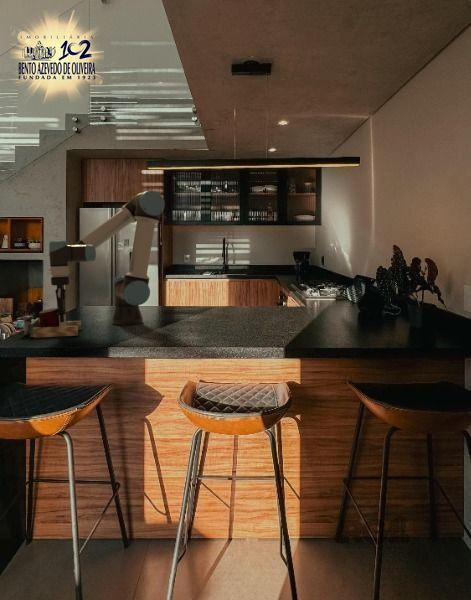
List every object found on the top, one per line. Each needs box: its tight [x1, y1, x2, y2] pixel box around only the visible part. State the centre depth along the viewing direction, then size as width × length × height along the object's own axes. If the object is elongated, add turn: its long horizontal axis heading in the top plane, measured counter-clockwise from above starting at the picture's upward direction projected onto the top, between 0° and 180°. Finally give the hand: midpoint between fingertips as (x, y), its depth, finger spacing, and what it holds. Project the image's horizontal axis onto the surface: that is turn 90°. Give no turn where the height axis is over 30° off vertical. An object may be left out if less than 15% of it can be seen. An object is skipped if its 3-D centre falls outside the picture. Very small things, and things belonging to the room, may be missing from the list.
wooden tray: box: [29, 317, 82, 338], centre depth 219 cm, size 19×16×6 cm
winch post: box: [21, 315, 34, 336], centre depth 216 cm, size 4×4×8 cm
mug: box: [38, 307, 59, 327], centre depth 218 cm, size 10×8×10 cm
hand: (62, 328), depth 219 cm, fingers closed
